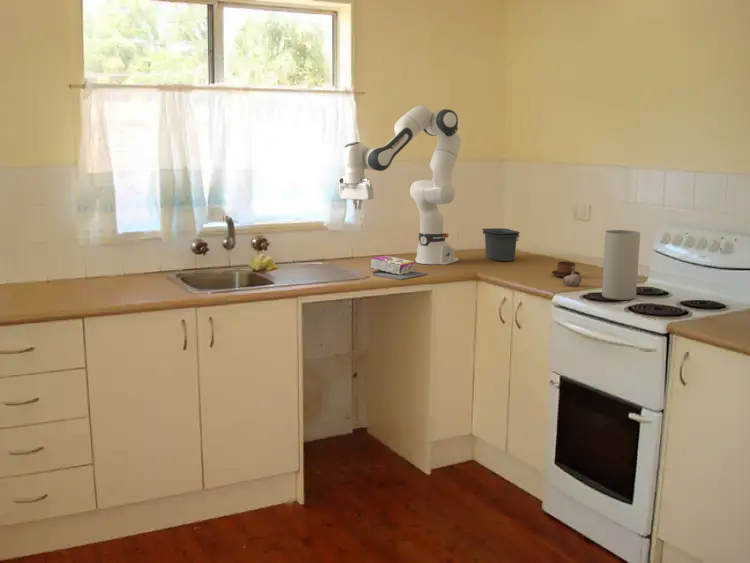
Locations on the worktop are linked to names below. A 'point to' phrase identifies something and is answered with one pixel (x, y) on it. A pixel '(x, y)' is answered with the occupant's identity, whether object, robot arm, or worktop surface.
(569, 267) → the cup and saucer
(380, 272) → the walnut kerb
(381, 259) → the candy bar box
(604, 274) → the cylinder vase
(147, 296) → the worktop surface
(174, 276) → the worktop surface
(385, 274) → the rubber mat
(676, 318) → the worktop surface
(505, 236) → the storage bin
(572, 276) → the garlic bulb
